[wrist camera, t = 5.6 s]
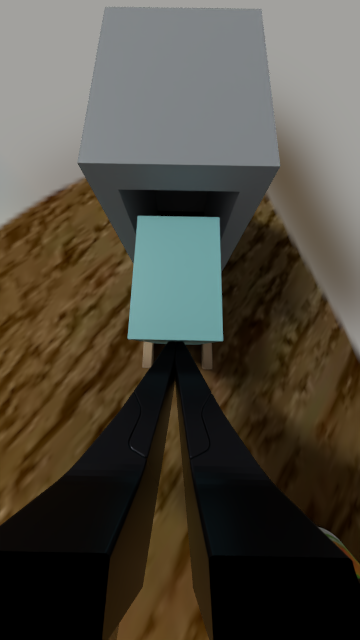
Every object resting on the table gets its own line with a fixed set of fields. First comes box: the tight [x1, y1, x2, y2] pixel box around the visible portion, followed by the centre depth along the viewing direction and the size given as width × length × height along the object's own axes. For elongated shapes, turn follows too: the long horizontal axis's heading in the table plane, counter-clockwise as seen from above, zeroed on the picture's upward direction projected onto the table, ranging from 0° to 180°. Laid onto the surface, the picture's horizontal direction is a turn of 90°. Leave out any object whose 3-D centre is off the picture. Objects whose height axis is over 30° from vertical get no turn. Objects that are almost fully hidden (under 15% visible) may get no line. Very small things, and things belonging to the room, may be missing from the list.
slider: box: [128, 216, 223, 345], centre depth 11 cm, size 8×4×9 cm, turn 179°
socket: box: [78, 7, 280, 272], centre depth 12 cm, size 10×8×11 cm
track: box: [142, 342, 212, 369], centre depth 15 cm, size 9×6×1 cm
